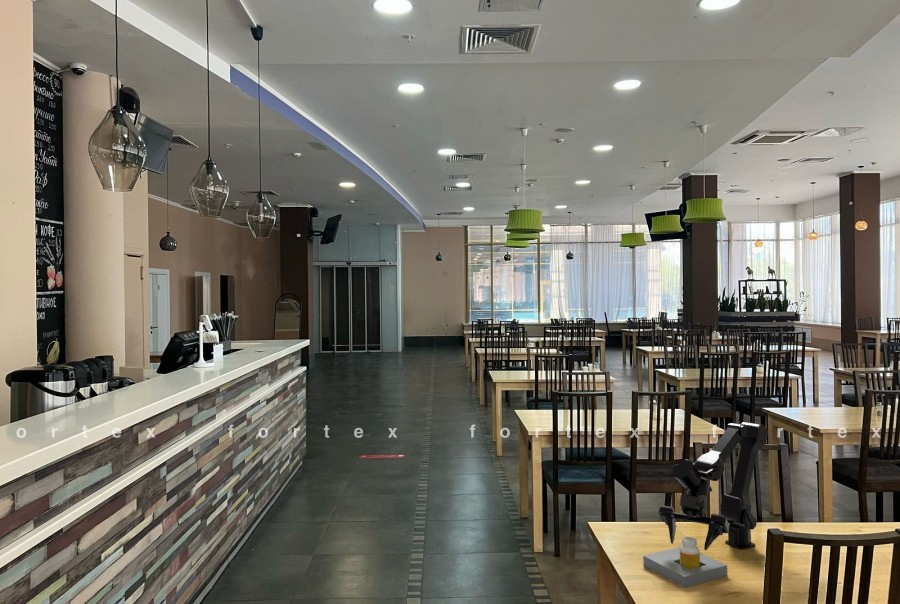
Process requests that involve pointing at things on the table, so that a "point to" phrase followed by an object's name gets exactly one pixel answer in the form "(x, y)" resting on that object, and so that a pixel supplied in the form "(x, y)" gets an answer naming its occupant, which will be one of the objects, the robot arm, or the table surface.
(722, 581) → the table surface
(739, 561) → the table surface
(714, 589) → the table surface
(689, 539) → the supplement bottle
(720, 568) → the holder
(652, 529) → the table surface
